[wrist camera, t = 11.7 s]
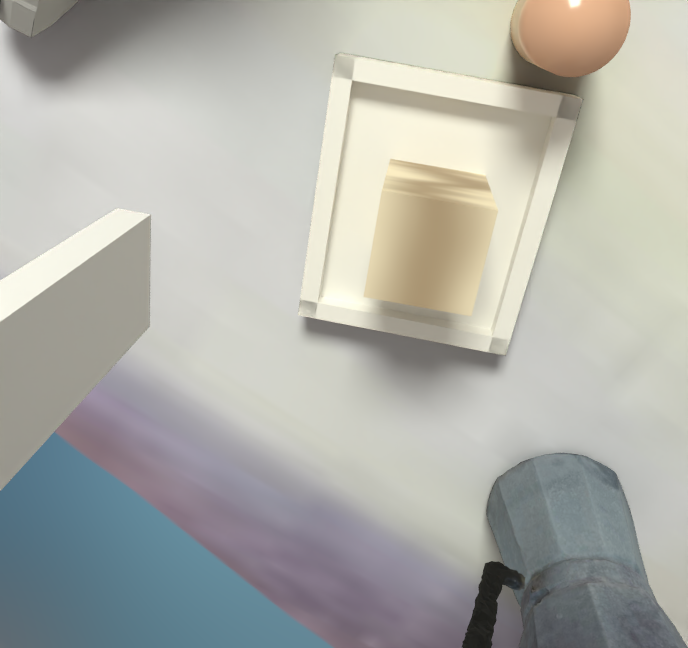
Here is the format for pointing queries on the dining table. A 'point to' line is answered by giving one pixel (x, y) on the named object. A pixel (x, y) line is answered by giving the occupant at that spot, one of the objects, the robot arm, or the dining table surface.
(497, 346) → the tray
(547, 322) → the dining table surface
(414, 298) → the birch block
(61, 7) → the handgun
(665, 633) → the moka pot
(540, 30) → the peach capsule
